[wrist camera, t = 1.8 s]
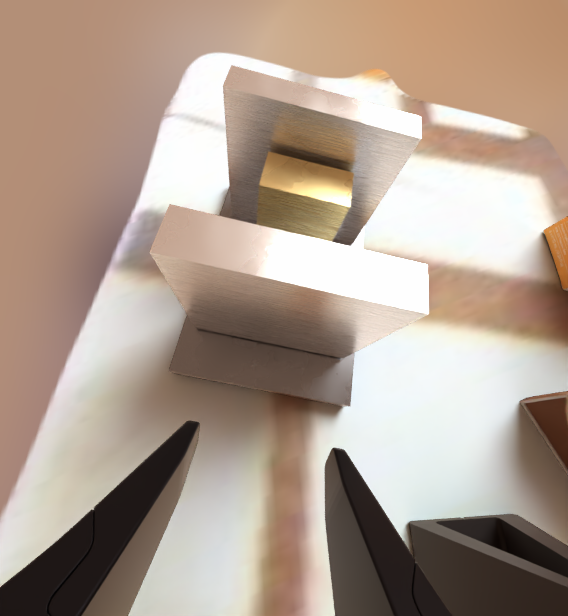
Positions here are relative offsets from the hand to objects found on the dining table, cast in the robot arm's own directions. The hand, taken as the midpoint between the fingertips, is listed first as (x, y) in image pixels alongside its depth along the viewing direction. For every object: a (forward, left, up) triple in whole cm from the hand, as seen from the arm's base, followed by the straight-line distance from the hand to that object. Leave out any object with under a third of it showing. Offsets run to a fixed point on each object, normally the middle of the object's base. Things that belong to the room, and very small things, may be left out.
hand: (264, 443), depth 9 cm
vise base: (+8, +10, -13) cm, 18 cm away
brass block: (+10, +12, -11) cm, 19 cm away
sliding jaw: (+5, +6, -11) cm, 13 cm away
